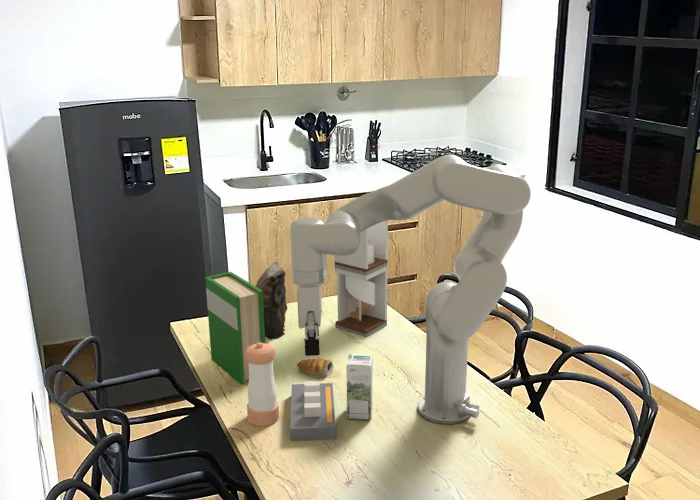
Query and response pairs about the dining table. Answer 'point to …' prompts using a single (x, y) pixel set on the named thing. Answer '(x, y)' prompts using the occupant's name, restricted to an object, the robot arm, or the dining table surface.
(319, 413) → the paddle
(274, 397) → the pepper shaker
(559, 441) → the dining table surface
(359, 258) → the white tower
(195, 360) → the dining table surface
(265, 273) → the owl
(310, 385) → the paddle
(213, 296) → the hardback book
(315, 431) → the breaker panel
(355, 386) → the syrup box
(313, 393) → the middle paddle
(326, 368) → the pastry
